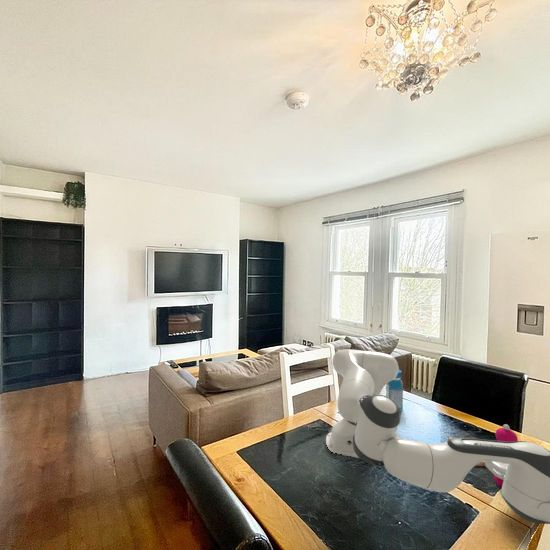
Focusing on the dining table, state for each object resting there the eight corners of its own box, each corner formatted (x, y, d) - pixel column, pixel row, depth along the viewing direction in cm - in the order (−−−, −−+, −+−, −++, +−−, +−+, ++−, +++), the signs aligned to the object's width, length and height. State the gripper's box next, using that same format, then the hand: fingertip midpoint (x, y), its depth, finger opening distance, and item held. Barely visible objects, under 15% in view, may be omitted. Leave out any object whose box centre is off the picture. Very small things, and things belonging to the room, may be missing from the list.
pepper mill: (524, 492, 97) (525, 431, 97) (499, 489, 99) (500, 429, 99) (511, 477, 105) (512, 420, 104) (488, 475, 106) (489, 418, 106)
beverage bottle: (395, 413, 152) (395, 374, 151) (382, 407, 159) (382, 369, 159) (406, 410, 156) (406, 371, 155) (393, 403, 163) (393, 366, 163)
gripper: (499, 488, 89) (474, 459, 102) (577, 495, 86) (541, 464, 100) (499, 467, 88) (474, 441, 102) (578, 473, 86) (541, 445, 99)
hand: (508, 453), depth 101 cm, fingers open, 8 cm apart
